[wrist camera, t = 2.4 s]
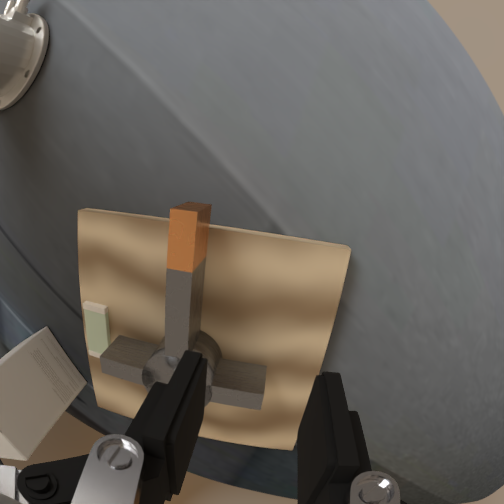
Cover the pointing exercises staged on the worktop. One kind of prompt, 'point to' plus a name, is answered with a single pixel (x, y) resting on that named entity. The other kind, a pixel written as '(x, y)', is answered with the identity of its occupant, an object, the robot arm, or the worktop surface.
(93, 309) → the level window
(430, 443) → the worktop surface
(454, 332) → the worktop surface
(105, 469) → the robot arm
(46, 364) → the supplement box
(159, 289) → the stand plate
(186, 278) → the capstan
